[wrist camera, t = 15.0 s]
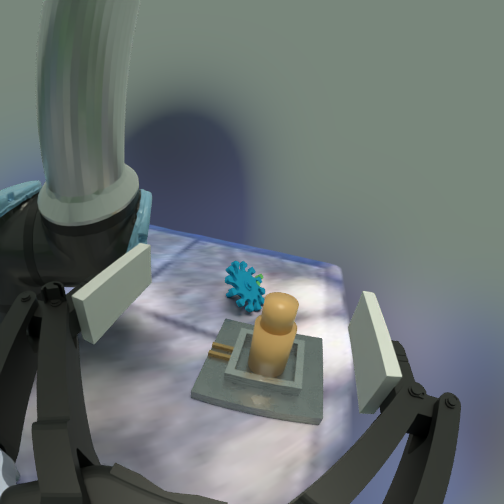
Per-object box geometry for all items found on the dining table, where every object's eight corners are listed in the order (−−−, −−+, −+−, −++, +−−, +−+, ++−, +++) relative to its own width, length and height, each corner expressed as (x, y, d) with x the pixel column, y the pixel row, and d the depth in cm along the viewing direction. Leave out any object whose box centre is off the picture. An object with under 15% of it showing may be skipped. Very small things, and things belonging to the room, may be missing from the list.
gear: (248, 317, 44) (221, 263, 46) (224, 327, 47) (199, 277, 49) (277, 299, 54) (254, 254, 55) (255, 309, 57) (234, 266, 58)
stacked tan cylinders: (244, 372, 33) (255, 308, 29) (251, 347, 38) (263, 286, 34) (283, 381, 32) (303, 318, 28) (286, 355, 37) (304, 294, 33)
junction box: (191, 398, 29) (190, 383, 28) (224, 325, 44) (226, 311, 43) (318, 424, 27) (326, 412, 26) (319, 345, 42) (324, 331, 41)
